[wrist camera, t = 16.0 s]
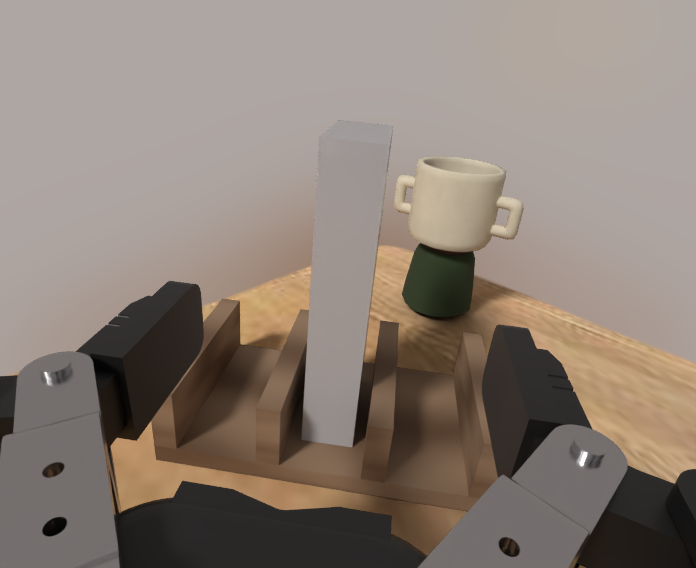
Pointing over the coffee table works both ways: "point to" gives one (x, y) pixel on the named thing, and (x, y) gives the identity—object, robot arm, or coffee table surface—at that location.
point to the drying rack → (370, 429)
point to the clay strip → (343, 274)
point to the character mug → (451, 229)
